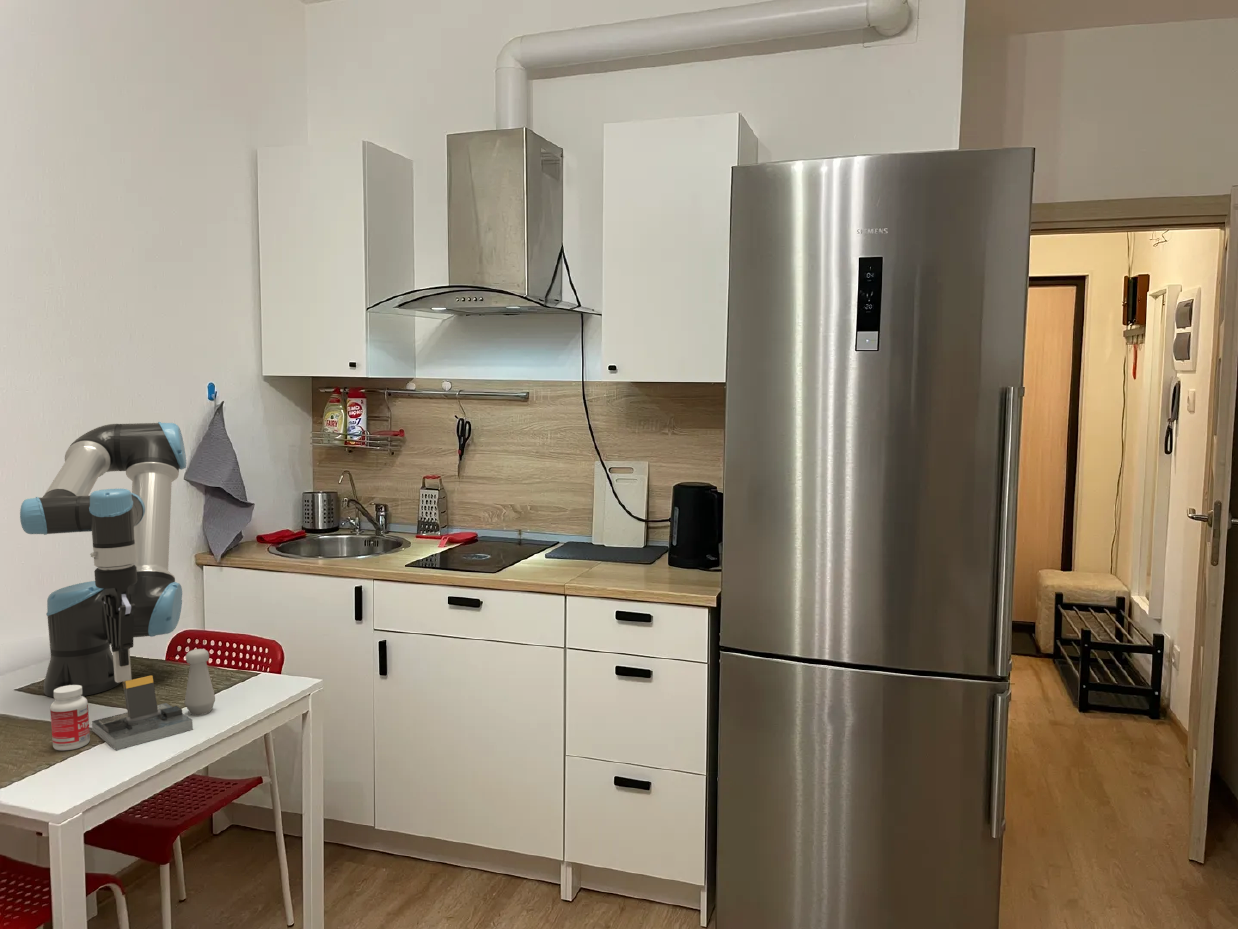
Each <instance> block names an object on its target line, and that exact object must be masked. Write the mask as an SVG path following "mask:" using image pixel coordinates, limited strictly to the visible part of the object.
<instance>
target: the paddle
mask: <svg viewBox="0 0 1238 929" xmlns="http://www.w3.org/2000/svg"><path fill="white" fill-rule="evenodd" d="M153 677H154V676H153V675H147V676H141V677H138V678H134V679H131V680H127V681H123V682H122V687H123V691H124V692H123V693H124V699H125V705H126V713H128V718H126V722H127V724H129V723H133V722H137V721H141V720H145V719H149V718H153V717H157V716H160V715H161V712H160V710H158V708H157V705H158V703H157V695H156V691H155V690H156V689H155V685H154V678H153Z"/></svg>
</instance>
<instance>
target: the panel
mask: <svg viewBox="0 0 1238 929" xmlns="http://www.w3.org/2000/svg"><path fill="white" fill-rule="evenodd" d="M157 708H158V710H160V712H161V715H160V716H157V717H153V718H149V719H145V720H141V721H137V722H133V723H129V724H127V722H126V718H128V713H127V712H123V713H120V714H119V713H118V714H114V715H111V716H107V717H103V718H100V719H94V720H91V729H92V732H93V733H95V735H97V736H98V737H99V738H100V739H102V740H103V741H104V742H106V743H107V744H108V745H109V746H111V747H112V748H113V749H114V750H116V751H118V750H122V749H125V748H129V747H133V746H136V745H139V744H144V743H147V742H152V741H156V740H159V739H162V738H166V737H170V736H174V735H177V734H181V733H185V732H188V731H193V730H194V725H193V719H192V718H190V717H189V716H188V715H186V714H184V713H183V709H182V708H181V707H179V706H178V705H174V706H172V705H170V704H168V703H167V702H165V703H160V704H157Z"/></svg>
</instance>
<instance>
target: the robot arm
mask: <svg viewBox="0 0 1238 929" xmlns="http://www.w3.org/2000/svg"><path fill="white" fill-rule="evenodd" d="M183 439H184V438H183V434H182V430H181V428H180V427H179V425H178V424H176V423H174V422H161V421H158V422H152V423H151V422H145V423H143V422H142V423H110V424H104V425H101V426H98V427H96V428H93V429H91V430H89V431H87V432H85V433H84V434H82V435H80V436H79V437H78V438H76V439H75V440H74V441H73V442H72V443H70V445H69V446H68V448H67V450H66V452H65V454H64V463H63V465H62V466H61V468H60V470H59V471H58V472H57V474H56V476H55V477H54V479H53V480H52V482H51V484H50V485H49V487H48V488H47V490H46V491H45V493H44V495H43V496H42V497H38V496H35V497H33V498H27V499H26V498H25V499H24V500H23V501H22V503H21V505H20V508H19V509H20V510H19V520H20V526H21V528H22V530H23V532H25V533H26V534H29V535H44V536H45V535H54V534H67V533H69V534H70V533H84V532H85V533H87V532H91V537H92V539H91V541H92V550H93V552H91V553H90V554H89V555H90V558H93V565H94V566H95V567H96V568H95V569H94V580H93V581H92V580H91V581H85V582H81V583H80V582H79V583H75V584H72V585H67V586H65V587H62V588H59V589H56V590H55V591H53V592H51V593H50V594H49V595H48V597H47V604H46V605H47V606H46V608H47V609H46V610H47V611H46V617H47V627H48V629H47V630H48V637H49V648H50V649H49V650H50V660H49V662H48V666H47V670H46V674H45V677H44V681H43V694H44V695H45V696H46V697H50V698H54V690H55V689H57V688H59V687H62V686H68V685H80V686H82V695H81V696H83V697H85V696H90V695H95V694H99V693H103V692H105V691H108V690H111V689H113V688H116V687H117V686H119V685H120V683H123V682H124V681H129V680H132V666H131V655H130V654H131V653H130V652H131V648H134V638H144V637H151V638H152V637H156V636H162V635H168V634H171V633H173V632H174V630H176V628H177V626H178V624H179V621H180V617H181V612H182V607H183V606H182V605H183V599H182V598H183V587H182V585H181V584H180V583H179V582H176V577H175V575H173V573H171V571H169V560H170V559H169V557H170V556H169V555H170V533H171V532H170V531H171V506H172V482H174V481H176V480H177V479H178V478H179V475H180V470H184V469H186V468H187V455H186V450H185V442H184V440H183ZM109 472H125V475H126V477H127V478H128V479H129V480H131V481H132V484H131V490H129V489H127V488H106V489H99V490H98V489H97V490H94V491H92V489H93V488H94V486H95V484H96V482H97V481H98V479H99V478H101V476H103V475H105V474H106V473H109ZM91 491H92V492H91Z"/></svg>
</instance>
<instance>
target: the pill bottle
mask: <svg viewBox="0 0 1238 929" xmlns="http://www.w3.org/2000/svg"><path fill="white" fill-rule="evenodd" d="M81 695H82V686H80V685H68V686H62V687H59V688H57V689H55V690H54V697H53V699H54V701H53V702H52V703H51V704H50V707H49V708H50V709H49V710H50V724H51V725H50V727H51V738H52V740H51V741H52V747H53V749H54V750H55V751H71V750H77V749H80V748H82V747H84V746H87V745H88V744H89V742H90V740H91V736H90V733H91V732H90V731H91V730H90V720H89V719H90V718H89V717H90V716H89V706H88V705H89V704H88V699H87V698H86V697H85V696H81Z"/></svg>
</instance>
